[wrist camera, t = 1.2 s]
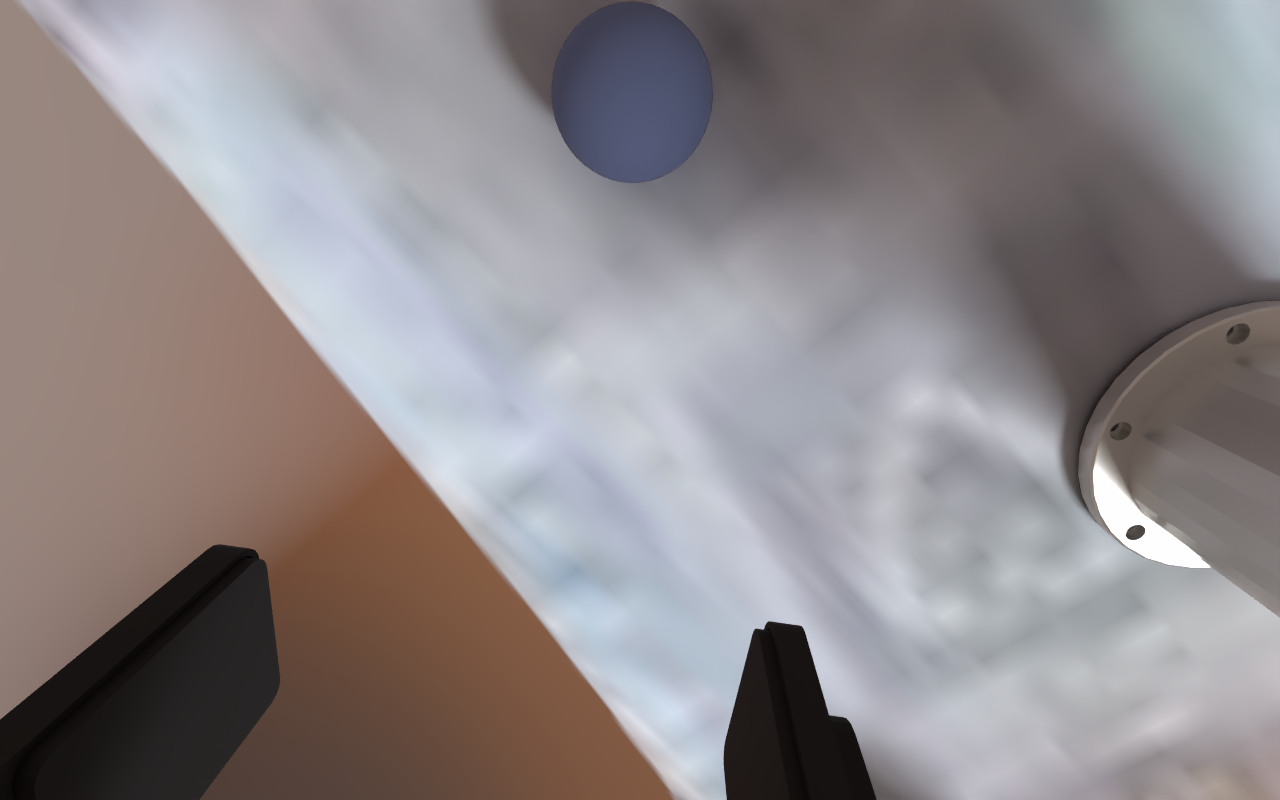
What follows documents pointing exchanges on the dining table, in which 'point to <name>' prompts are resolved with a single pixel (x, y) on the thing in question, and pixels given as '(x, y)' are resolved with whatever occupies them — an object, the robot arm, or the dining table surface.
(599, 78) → the dark blue ball
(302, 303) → the dining table surface
